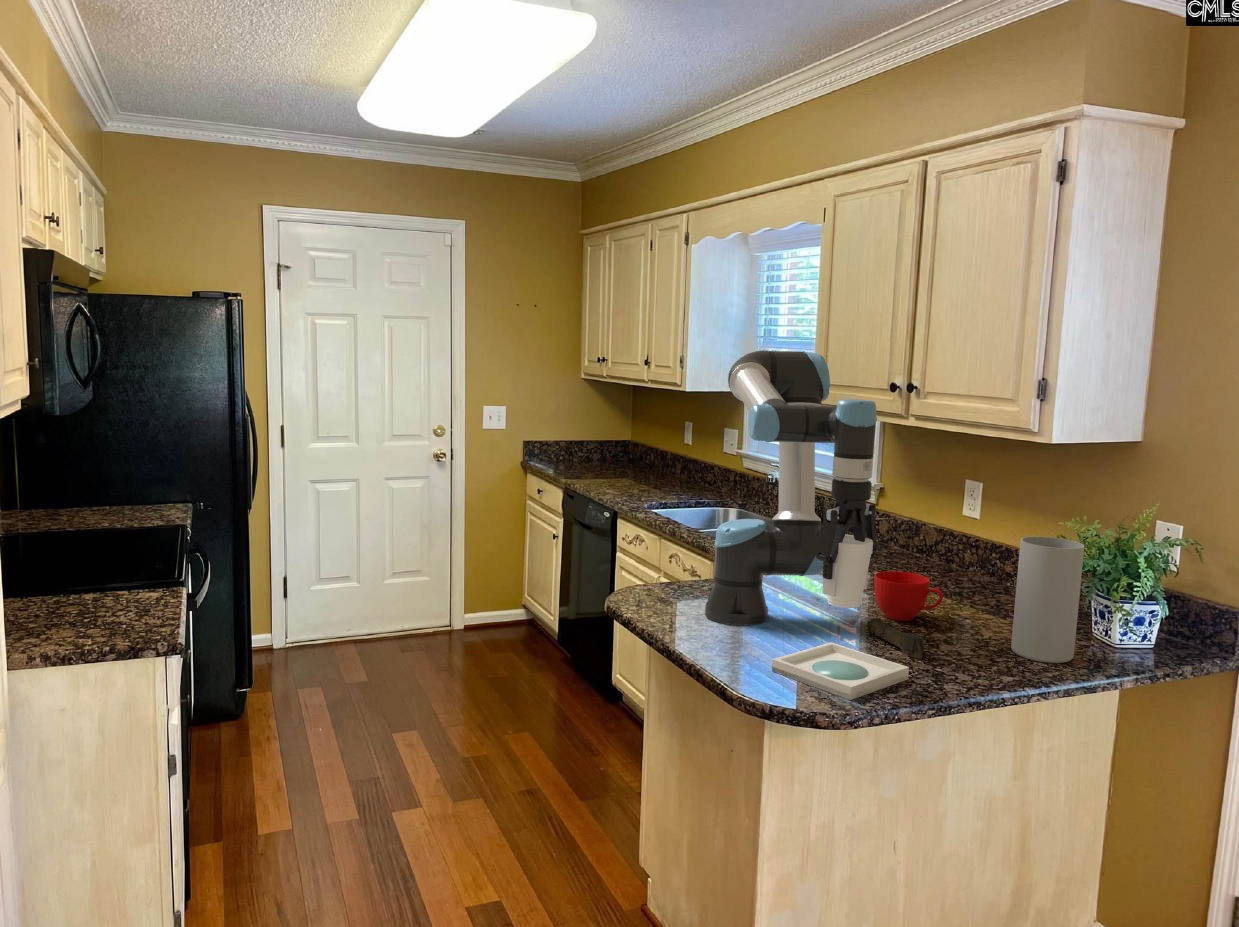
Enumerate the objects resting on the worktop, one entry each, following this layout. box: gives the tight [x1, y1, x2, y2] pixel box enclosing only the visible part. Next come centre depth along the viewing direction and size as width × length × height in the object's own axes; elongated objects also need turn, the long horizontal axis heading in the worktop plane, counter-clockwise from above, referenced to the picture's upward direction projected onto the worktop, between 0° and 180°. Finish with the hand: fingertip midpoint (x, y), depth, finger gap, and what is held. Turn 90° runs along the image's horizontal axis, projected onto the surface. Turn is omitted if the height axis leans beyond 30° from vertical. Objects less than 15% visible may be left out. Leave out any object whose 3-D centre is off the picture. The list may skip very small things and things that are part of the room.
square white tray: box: [771, 641, 910, 701], centre depth 187 cm, size 19×19×2 cm
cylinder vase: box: [1010, 536, 1085, 664], centre depth 203 cm, size 12×12×25 cm
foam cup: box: [826, 534, 873, 609], centre depth 185 cm, size 10×9×13 cm
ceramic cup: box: [873, 570, 944, 622], centre depth 228 cm, size 13×17×10 cm
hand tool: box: [866, 617, 925, 660], centre depth 207 cm, size 19×4×5 cm, turn 14°
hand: (844, 591), depth 185 cm, fingers closed on foam cup, 9 cm apart
